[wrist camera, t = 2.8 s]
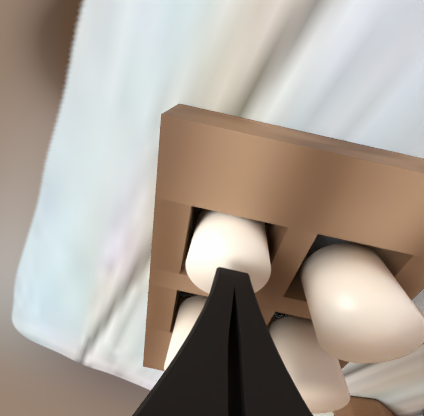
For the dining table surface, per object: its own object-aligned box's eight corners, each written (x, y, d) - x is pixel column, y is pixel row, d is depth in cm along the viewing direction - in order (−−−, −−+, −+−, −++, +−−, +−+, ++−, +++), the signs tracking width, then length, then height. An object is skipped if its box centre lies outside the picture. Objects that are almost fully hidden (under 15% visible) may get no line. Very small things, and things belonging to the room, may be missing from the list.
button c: (398, 252, 11) (454, 318, 8) (356, 303, 13) (389, 370, 11) (318, 235, 11) (346, 294, 8) (289, 288, 13) (302, 351, 10)
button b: (245, 302, 14) (247, 363, 12) (230, 337, 17) (228, 397, 14) (182, 288, 14) (167, 346, 11) (175, 325, 17) (161, 382, 14)
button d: (340, 323, 15) (365, 389, 12) (313, 355, 17) (329, 418, 14) (277, 309, 15) (286, 372, 12) (258, 343, 17) (262, 404, 14)
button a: (273, 206, 13) (283, 247, 10) (253, 258, 15) (256, 305, 12) (203, 190, 13) (192, 227, 10) (192, 244, 15) (180, 288, 12)
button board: (457, 166, 12) (532, 201, 9) (300, 363, 22) (309, 409, 19) (179, 103, 11) (157, 116, 8) (154, 331, 22) (140, 373, 19)
